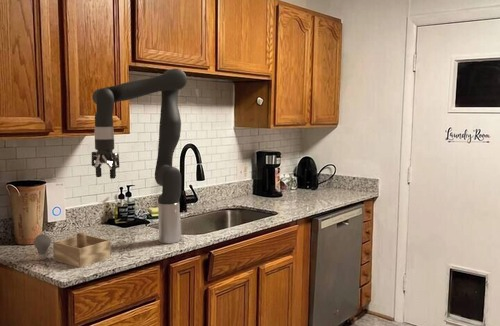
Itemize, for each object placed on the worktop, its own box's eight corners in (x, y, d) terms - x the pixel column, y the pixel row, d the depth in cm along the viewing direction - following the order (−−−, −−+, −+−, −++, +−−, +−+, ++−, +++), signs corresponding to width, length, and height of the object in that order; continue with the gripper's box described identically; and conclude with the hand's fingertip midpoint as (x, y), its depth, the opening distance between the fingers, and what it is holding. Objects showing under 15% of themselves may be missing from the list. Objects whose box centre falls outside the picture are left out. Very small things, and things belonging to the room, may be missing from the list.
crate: (84, 251, 196) (83, 234, 195) (110, 257, 187) (110, 240, 186) (54, 260, 184) (53, 242, 184) (80, 267, 176) (79, 248, 175)
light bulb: (48, 261, 182) (47, 236, 181) (32, 262, 182) (31, 236, 181) (53, 257, 188) (52, 232, 187) (37, 257, 188) (36, 232, 187)
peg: (83, 257, 188) (82, 232, 187) (88, 258, 186) (88, 233, 185) (75, 259, 185) (74, 234, 184) (81, 260, 183) (80, 235, 182)
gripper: (123, 138, 193) (124, 178, 194) (100, 137, 201) (101, 175, 202) (108, 139, 187) (110, 180, 188) (85, 137, 194) (86, 177, 196)
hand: (105, 177), depth 195 cm, fingers open, 8 cm apart
